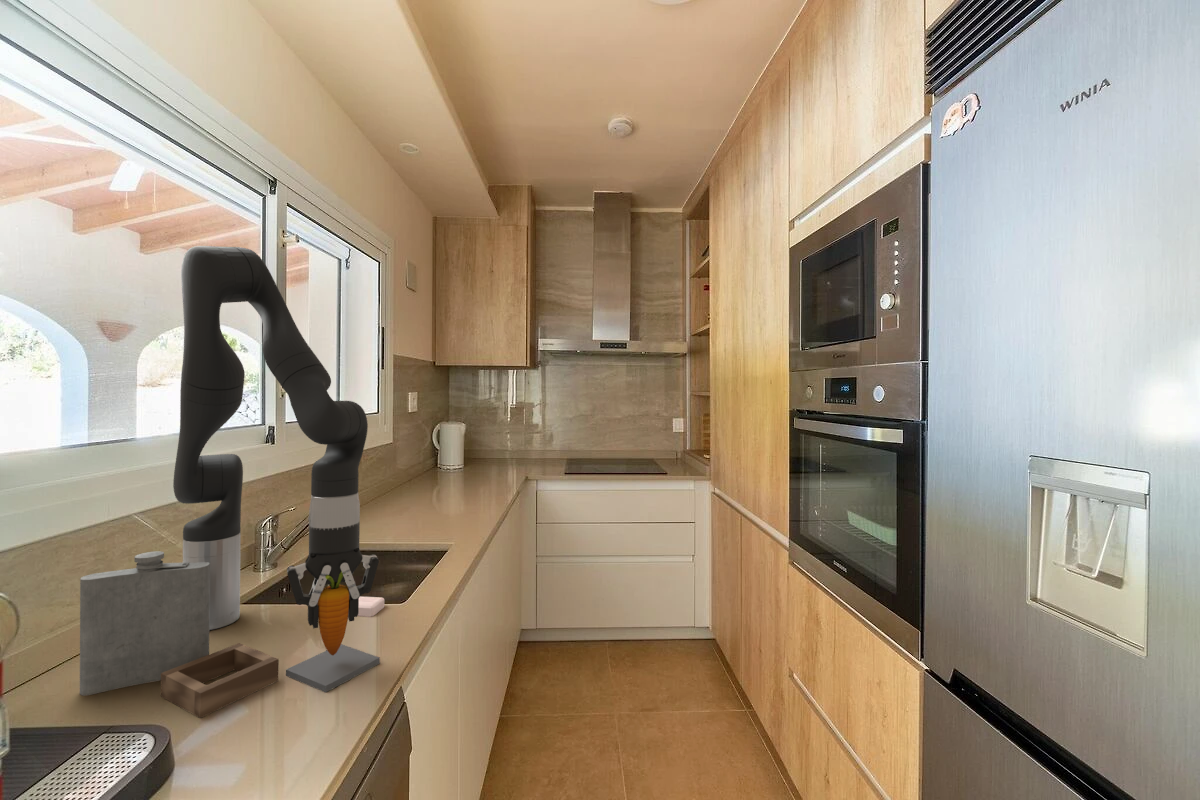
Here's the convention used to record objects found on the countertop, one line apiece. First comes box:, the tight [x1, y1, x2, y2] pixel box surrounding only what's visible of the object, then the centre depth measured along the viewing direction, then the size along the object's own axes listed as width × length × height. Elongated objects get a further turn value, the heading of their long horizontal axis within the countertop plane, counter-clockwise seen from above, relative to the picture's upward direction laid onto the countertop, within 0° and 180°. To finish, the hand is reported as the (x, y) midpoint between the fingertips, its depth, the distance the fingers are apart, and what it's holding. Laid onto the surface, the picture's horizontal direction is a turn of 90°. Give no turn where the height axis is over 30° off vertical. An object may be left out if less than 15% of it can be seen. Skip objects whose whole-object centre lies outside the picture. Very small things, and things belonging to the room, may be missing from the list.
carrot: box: [318, 571, 350, 655], centre depth 87 cm, size 5×5×15 cm
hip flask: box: [79, 550, 210, 696], centre depth 84 cm, size 16×4×20 cm, turn 117°
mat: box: [285, 643, 381, 693], centre depth 88 cm, size 10×10×1 cm
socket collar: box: [160, 642, 279, 719], centre depth 81 cm, size 11×11×4 cm
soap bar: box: [357, 596, 385, 617], centre depth 111 cm, size 5×9×2 cm, turn 85°
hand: (333, 622), depth 87 cm, fingers closed on carrot, 4 cm apart
